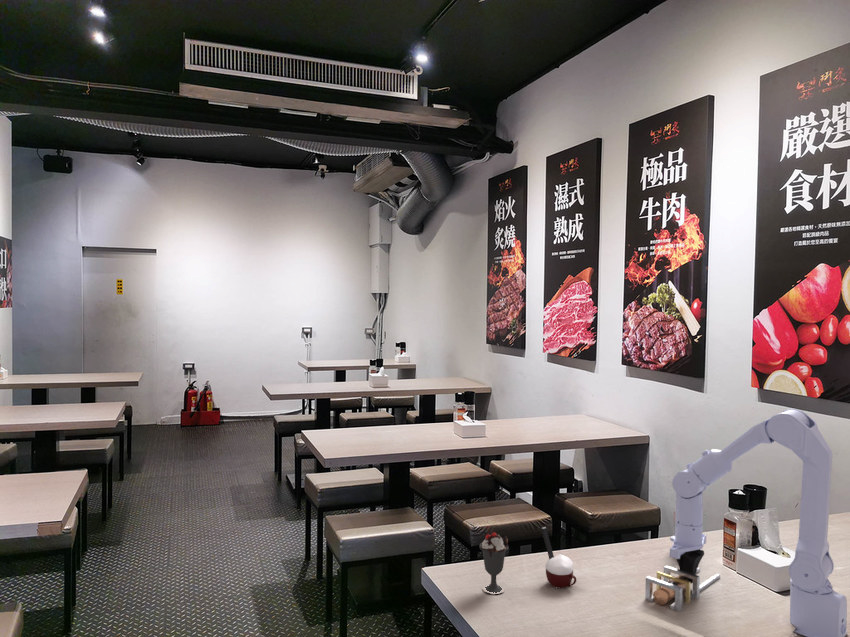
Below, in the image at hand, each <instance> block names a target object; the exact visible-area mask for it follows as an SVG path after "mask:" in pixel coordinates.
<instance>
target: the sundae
mask: <svg viewBox="0 0 850 637" xmlns="http://www.w3.org/2000/svg"><path fill="white" fill-rule="evenodd" d="M485 529H486V530H487V534H486V535H485V539H484V540H483V541H482V542H480V544H479V549H480V550H481V551H482V555H483V556H482V557H483V562H484V563H483V564H484V570H485V571H486V572H487V573H488V574H489V576H490V583H489V584H488V585H489V586H487V587H485V588H486V590H487V591H489V592H493V593H494V592H495V593H497V592H500V591H501V590H502V588H501V587H502V586H501V587H500V585H498V583H497V576H498V575H500V574H501V572H502V571H503V569H504V563H505V556H506V551H508V549H509V544H508V543H509V542H508V540H509V539H508V537H507V535H505V536H504V537H503V538H502V536H500V534H497V532H495V531H492V529H491V528H490V526H488V525H487V526H485ZM489 530H490V531H491V534H489Z"/></svg>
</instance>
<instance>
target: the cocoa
mask: <svg viewBox="0 0 850 637" xmlns="http://www.w3.org/2000/svg"><path fill="white" fill-rule="evenodd" d="M541 532H542V536H543V540H544V544H545V549H546V551H547V556H548V559H547V561H546V563H545V576H546V580H547V581H548V583H549V584H550V585H551V586H552V587H554V588H556V587H557V589H566V588H567V587H568V588H569V587H571V586H574V585H575V584H576V583H577V577H576V576H575V575H574V567H573V566H574V562H573V561H572V559H570V557H568V556H566V555H564V554H557V555H556V556H554V551H553V548H552V545H551V544H552V543H551V541H550V536H549V533H548V528H547V527H546V526H544V527H541ZM572 580H573V582H572ZM565 587H566V588H565Z"/></svg>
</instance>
